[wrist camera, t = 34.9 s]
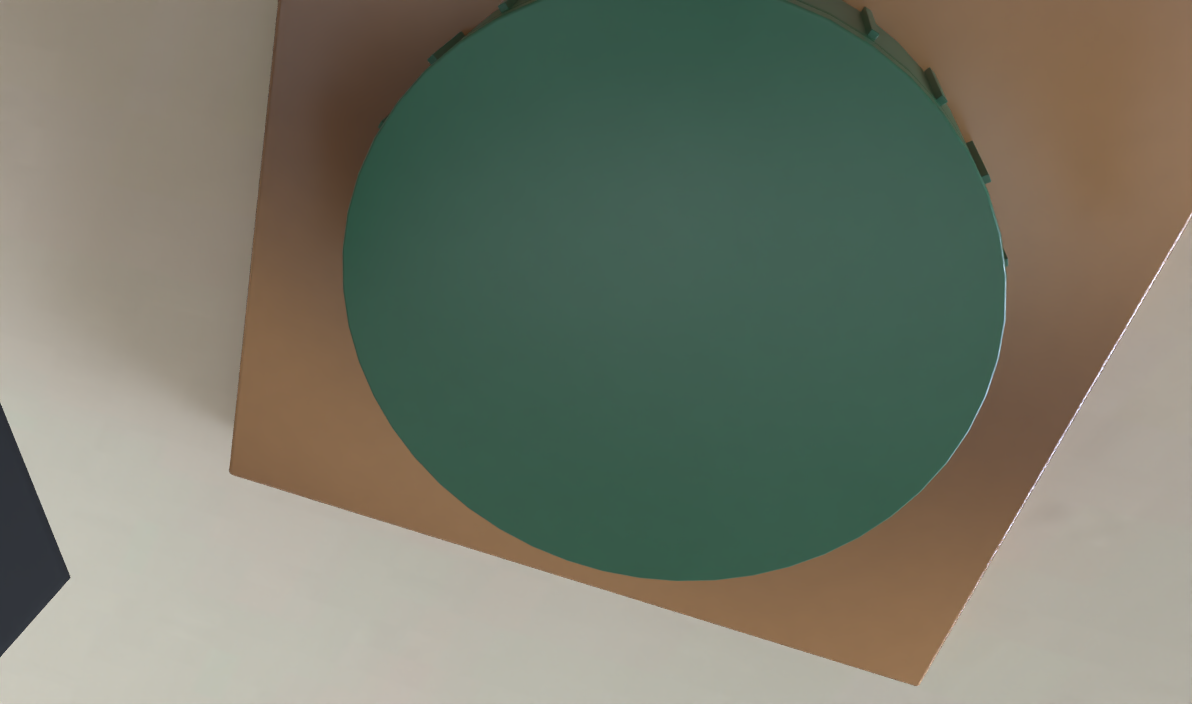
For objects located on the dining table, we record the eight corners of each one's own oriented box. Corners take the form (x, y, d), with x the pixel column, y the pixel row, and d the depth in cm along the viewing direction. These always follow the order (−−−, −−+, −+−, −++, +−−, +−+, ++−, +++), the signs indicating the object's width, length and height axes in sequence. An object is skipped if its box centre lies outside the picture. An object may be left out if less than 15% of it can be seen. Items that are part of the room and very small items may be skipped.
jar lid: (787, 588, 17) (787, 669, 16) (311, 363, 17) (262, 425, 15) (1126, 141, 13) (1171, 191, 12) (515, -179, 13) (476, -171, 11)
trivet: (345, -352, 13) (313, -360, 12) (1311, -62, 13) (1349, -49, 12) (253, 442, 19) (226, 475, 18) (913, 646, 19) (918, 689, 18)
